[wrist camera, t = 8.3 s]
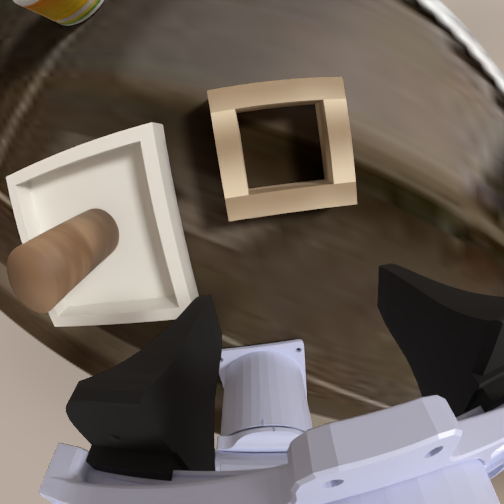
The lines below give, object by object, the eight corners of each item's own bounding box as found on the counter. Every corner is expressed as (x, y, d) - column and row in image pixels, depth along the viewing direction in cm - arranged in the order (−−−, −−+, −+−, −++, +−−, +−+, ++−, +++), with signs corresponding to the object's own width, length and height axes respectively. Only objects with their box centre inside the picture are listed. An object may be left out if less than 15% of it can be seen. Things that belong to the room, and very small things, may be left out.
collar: (345, 197, 21) (357, 204, 19) (231, 212, 21) (228, 221, 19) (331, 83, 18) (342, 76, 16) (211, 96, 18) (207, 90, 16)
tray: (200, 300, 24) (195, 317, 22) (66, 313, 24) (54, 326, 22) (162, 124, 19) (151, 122, 17) (23, 172, 20) (6, 177, 17)
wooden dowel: (124, 254, 22) (66, 312, 13) (84, 259, 22) (21, 313, 13) (113, 204, 20) (43, 241, 12) (72, 213, 21) (-1, 250, 12)
